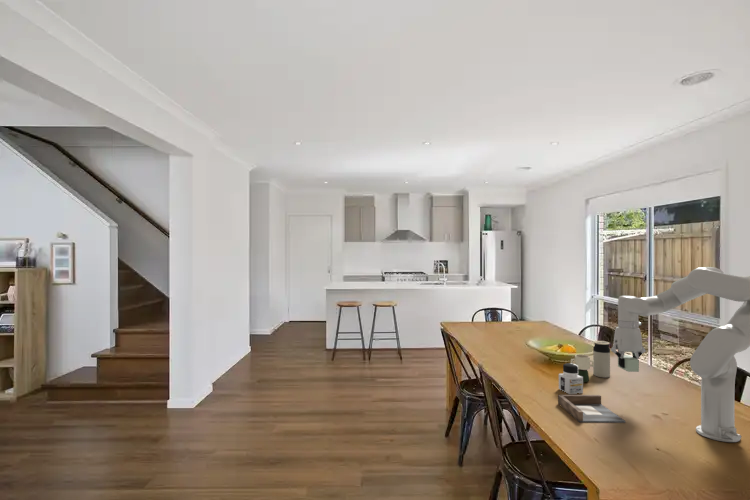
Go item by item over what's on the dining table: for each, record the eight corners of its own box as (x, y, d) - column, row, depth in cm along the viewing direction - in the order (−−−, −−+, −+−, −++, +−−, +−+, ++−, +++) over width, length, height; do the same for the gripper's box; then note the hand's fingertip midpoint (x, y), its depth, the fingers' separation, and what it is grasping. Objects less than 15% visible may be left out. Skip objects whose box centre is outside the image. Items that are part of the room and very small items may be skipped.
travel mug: (613, 377, 225) (613, 343, 225) (597, 377, 226) (597, 343, 226) (605, 373, 233) (605, 340, 233) (590, 373, 234) (590, 340, 234)
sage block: (628, 366, 187) (628, 355, 187) (638, 371, 179) (638, 359, 179) (617, 366, 187) (617, 355, 187) (627, 371, 179) (627, 359, 179)
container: (569, 394, 199) (569, 366, 199) (558, 389, 207) (558, 362, 207) (583, 393, 201) (583, 365, 201) (571, 388, 209) (571, 361, 209)
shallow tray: (625, 422, 167) (625, 412, 167) (579, 422, 167) (579, 412, 167) (599, 404, 187) (599, 395, 187) (558, 403, 187) (558, 394, 187)
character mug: (592, 380, 222) (592, 355, 222) (595, 384, 215) (595, 358, 215) (569, 378, 225) (569, 353, 225) (571, 382, 218) (571, 356, 218)
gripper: (643, 323, 186) (643, 365, 186) (603, 323, 187) (603, 364, 187) (653, 326, 179) (653, 370, 179) (612, 326, 180) (612, 369, 180)
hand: (628, 366), depth 183 cm, fingers closed on sage block, 4 cm apart
